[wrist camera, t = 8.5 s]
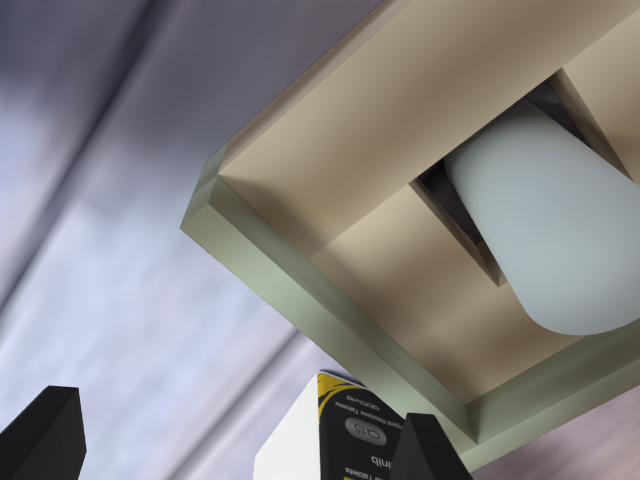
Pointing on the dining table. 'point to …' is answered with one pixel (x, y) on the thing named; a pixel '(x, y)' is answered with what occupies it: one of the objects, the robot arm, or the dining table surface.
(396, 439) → the medicine box
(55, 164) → the dining table surface
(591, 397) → the socket block
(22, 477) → the robot arm
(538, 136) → the peg
